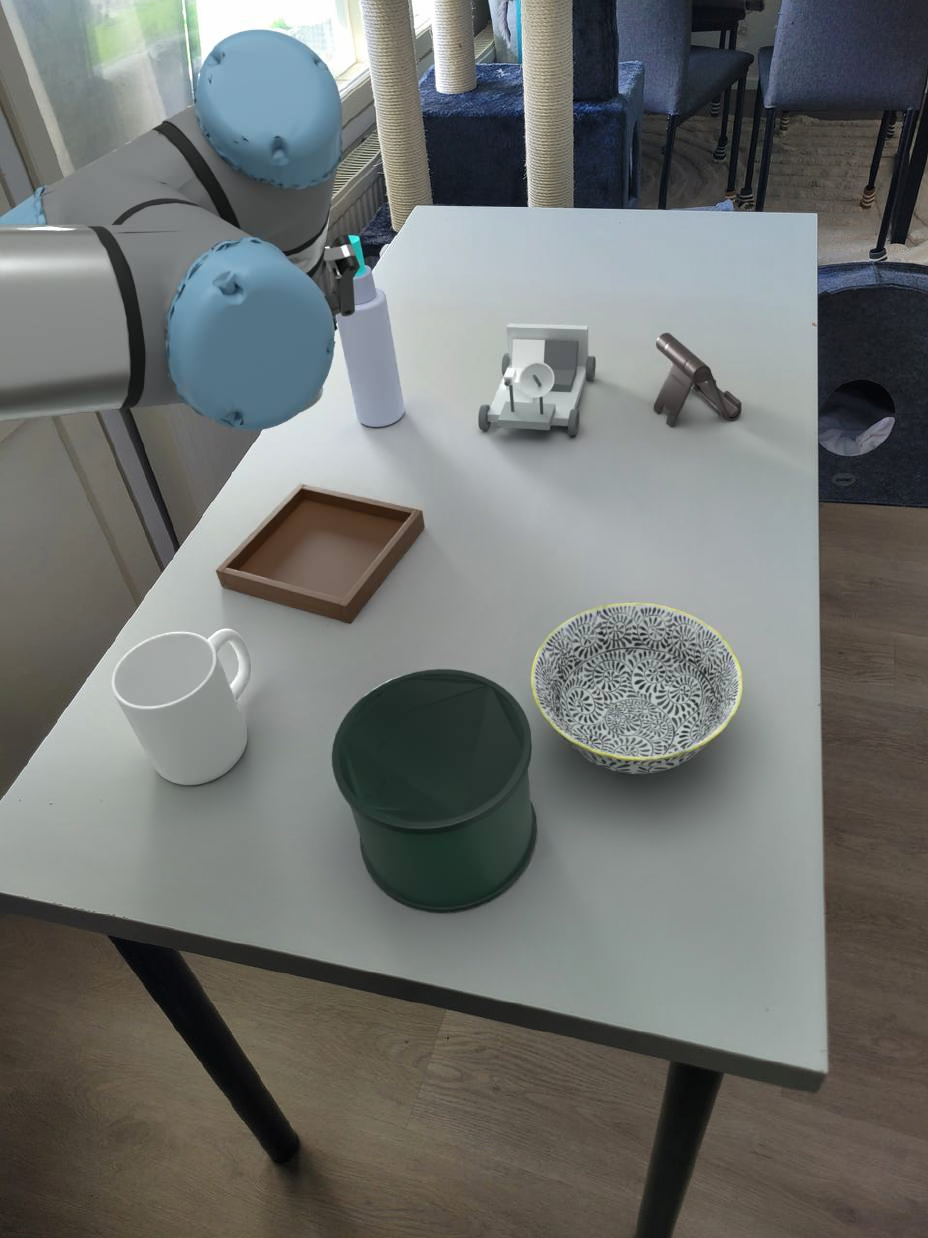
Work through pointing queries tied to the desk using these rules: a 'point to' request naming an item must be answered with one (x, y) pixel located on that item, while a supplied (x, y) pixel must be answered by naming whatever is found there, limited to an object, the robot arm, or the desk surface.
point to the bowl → (636, 685)
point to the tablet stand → (690, 382)
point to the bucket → (439, 788)
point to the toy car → (541, 378)
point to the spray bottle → (370, 351)
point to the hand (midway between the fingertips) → (266, 355)
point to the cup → (185, 703)
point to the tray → (322, 551)
